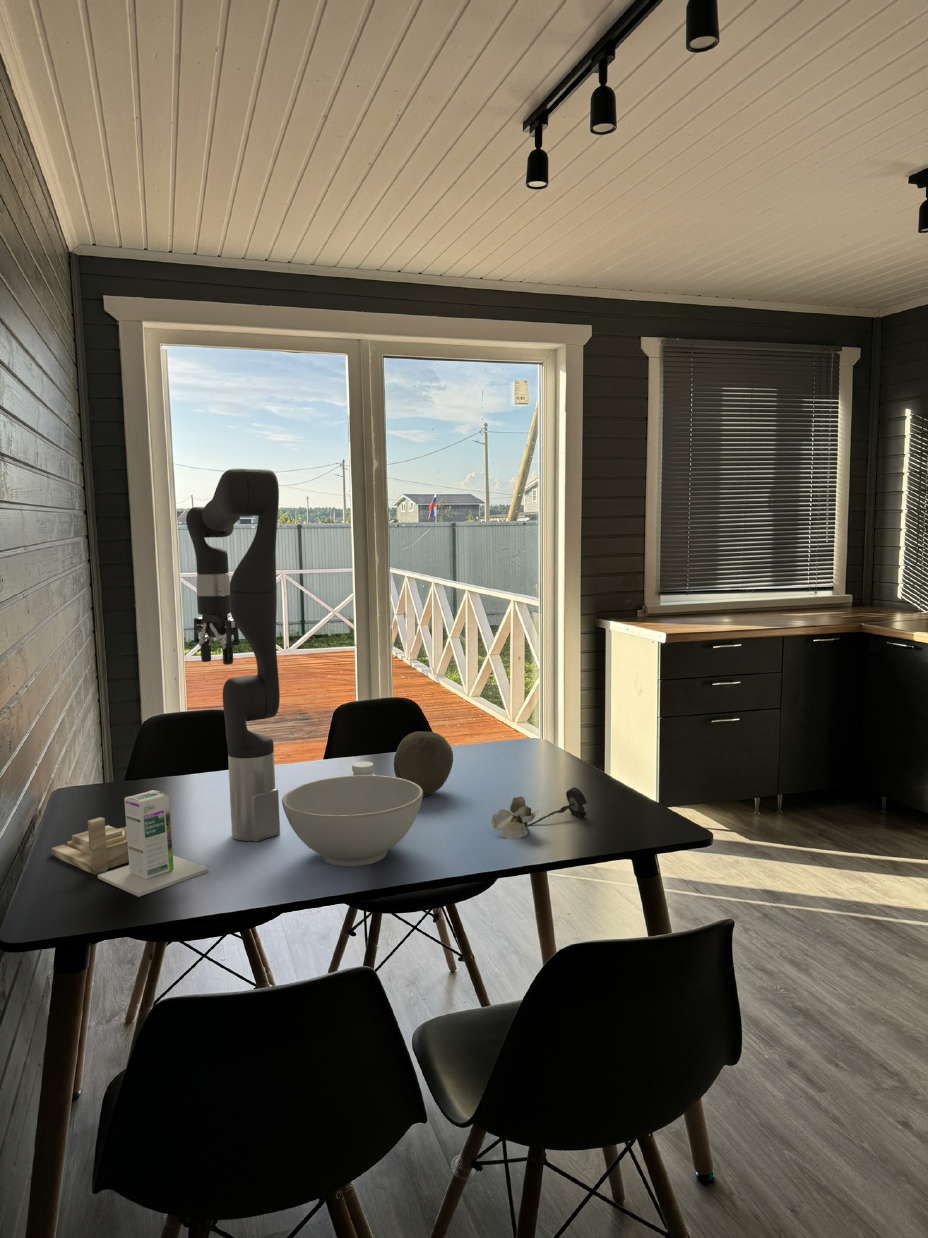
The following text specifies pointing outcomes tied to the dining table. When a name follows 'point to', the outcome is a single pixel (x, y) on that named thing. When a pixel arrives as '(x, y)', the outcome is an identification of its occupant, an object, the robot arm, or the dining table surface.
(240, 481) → the robot arm
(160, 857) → the syrup box
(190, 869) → the grey mat
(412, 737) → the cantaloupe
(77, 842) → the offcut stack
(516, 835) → the artificial flower
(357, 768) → the pill bottle
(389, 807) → the decorative bowl
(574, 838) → the dining table surface
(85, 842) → the birch rack
